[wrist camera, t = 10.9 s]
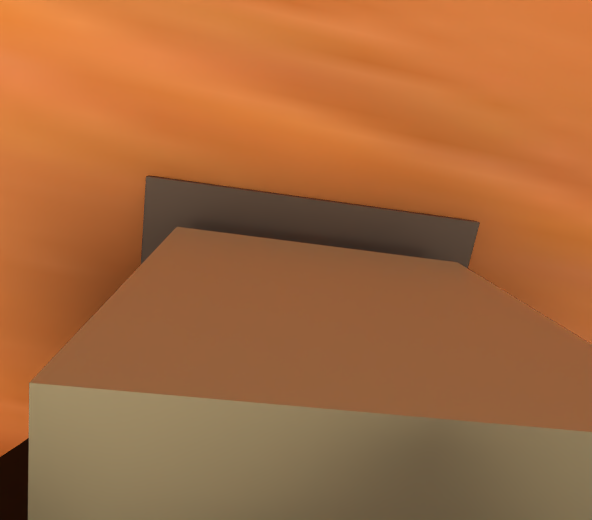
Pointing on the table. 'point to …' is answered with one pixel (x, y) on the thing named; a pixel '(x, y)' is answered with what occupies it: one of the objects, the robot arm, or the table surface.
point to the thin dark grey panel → (300, 221)
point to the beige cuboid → (310, 393)
